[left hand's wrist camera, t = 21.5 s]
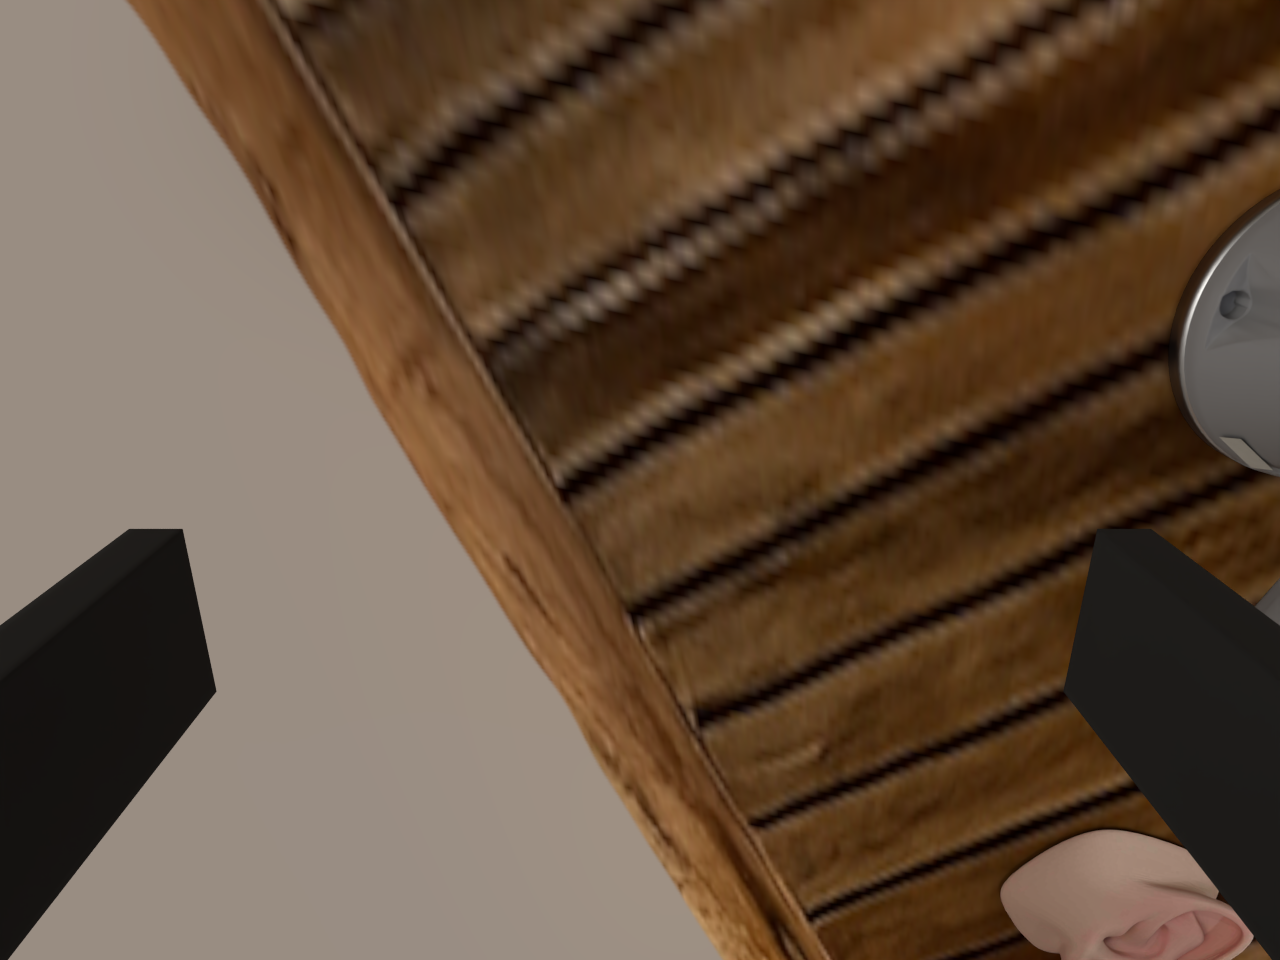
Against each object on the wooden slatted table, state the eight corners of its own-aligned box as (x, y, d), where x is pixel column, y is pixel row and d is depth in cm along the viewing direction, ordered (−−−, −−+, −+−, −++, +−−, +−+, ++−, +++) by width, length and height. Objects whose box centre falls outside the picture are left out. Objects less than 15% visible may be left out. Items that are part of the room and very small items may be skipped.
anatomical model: (994, 966, 54) (1121, 842, 50) (971, 913, 57) (1088, 794, 54) (1153, 1042, 56) (1285, 929, 53) (1122, 987, 60) (1242, 878, 56)
